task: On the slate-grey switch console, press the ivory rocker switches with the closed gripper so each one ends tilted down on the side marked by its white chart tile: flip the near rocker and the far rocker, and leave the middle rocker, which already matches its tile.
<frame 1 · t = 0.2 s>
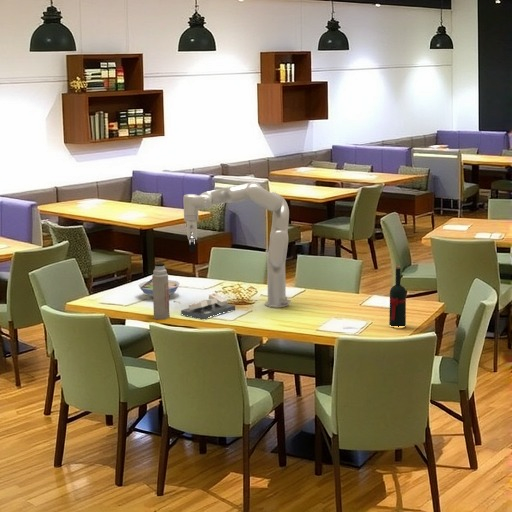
hand: (192, 250, 500), 31 cm above the table, tool pointing down, fingers open, 9 cm apart
rocker b: (208, 302, 493), point 5 cm above the table, hinge at 17.0°
rocker c: (198, 305, 487), point 5 cm above the table, hinge at 17.0°
wine bottle: (396, 327, 460), on the table
console: (208, 312, 494), on the table
rocker a: (217, 299, 498), point 5 cm above the table, hinge at -17.0°
thermos bottle: (161, 317, 486), on the table
ramen bowl: (159, 297, 529), on the table
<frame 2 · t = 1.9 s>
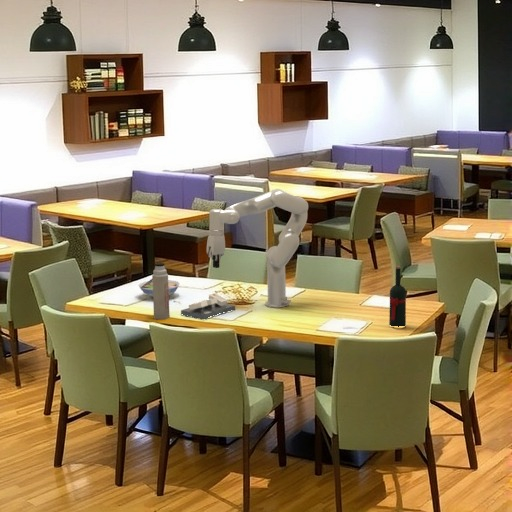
hand: (216, 267, 497), 22 cm above the table, tool pointing down, fingers closed
nothing on the table moved.
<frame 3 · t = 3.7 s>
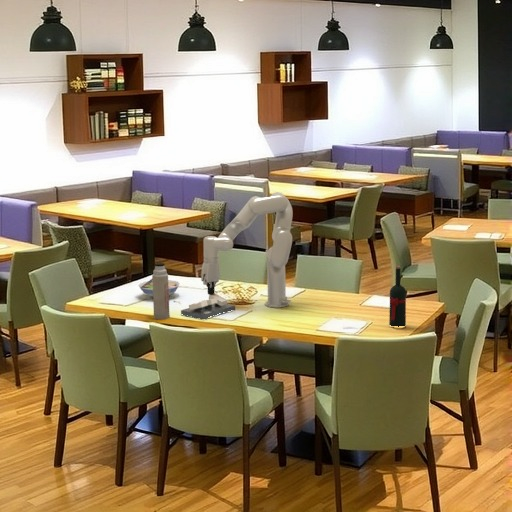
hand: (211, 294, 500), 8 cm above the table, tool pointing down, fingers closed
rocker a: (217, 299, 498), point 5 cm above the table, hinge at -15.2°, touching gripper
everything else where it was.
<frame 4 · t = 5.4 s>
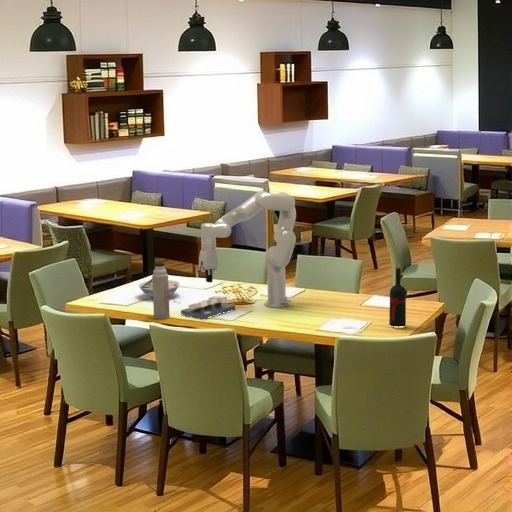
hand: (209, 281, 495), 15 cm above the table, tool pointing down, fingers closed
rocker a: (217, 299, 498), point 5 cm above the table, hinge at 6.8°
everything else where it was.
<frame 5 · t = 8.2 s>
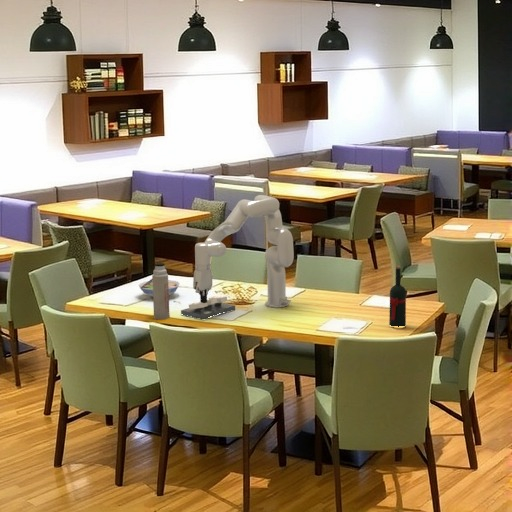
hand: (203, 302, 484), 8 cm above the table, tool pointing down, fingers closed
rocker c: (198, 305, 487), point 5 cm above the table, hinge at 14.0°, touching gripper
rocker a: (217, 299, 498), point 5 cm above the table, hinge at 7.5°
everything else where it was.
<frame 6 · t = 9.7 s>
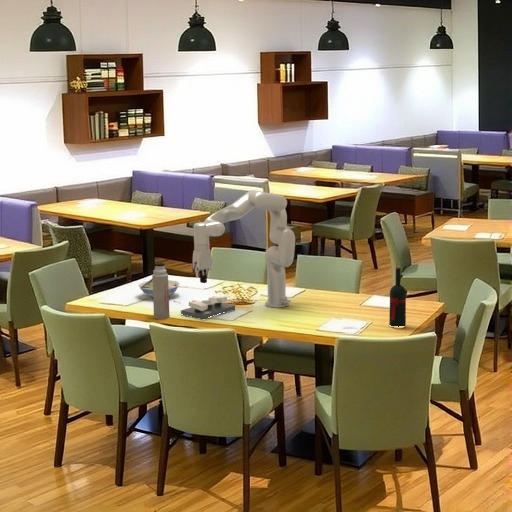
hand: (203, 282, 482), 18 cm above the table, tool pointing down, fingers closed
rocker c: (198, 305, 487), point 5 cm above the table, hinge at -7.9°
everything else where it was.
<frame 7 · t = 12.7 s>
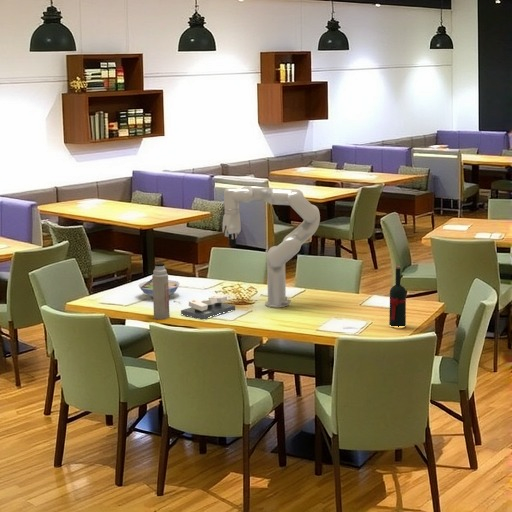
hand: (232, 246, 501), 32 cm above the table, tool pointing down, fingers closed
rocker c: (198, 305, 487), point 5 cm above the table, hinge at -8.8°
everything else where it was.
at the end: rocker a at +8° (first picture: -17°); rocker b at +17° (first picture: +17°); rocker c at -9° (first picture: +17°) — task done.
